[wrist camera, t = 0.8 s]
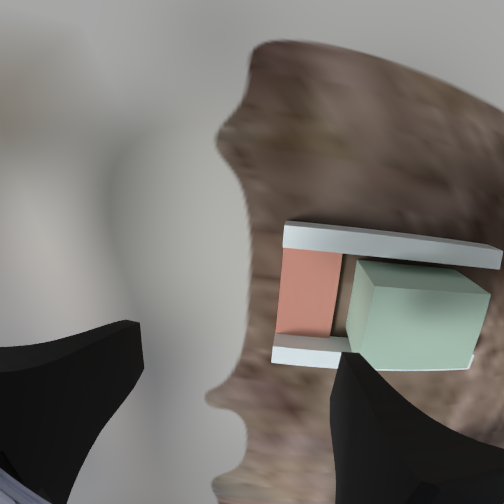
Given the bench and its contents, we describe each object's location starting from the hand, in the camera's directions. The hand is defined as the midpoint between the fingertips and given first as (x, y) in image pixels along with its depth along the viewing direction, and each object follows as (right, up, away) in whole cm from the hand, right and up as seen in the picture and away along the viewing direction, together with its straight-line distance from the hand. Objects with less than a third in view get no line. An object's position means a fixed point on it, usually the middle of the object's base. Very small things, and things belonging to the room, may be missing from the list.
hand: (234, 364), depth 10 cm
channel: (+9, +1, +8) cm, 12 cm away
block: (+10, +1, +8) cm, 13 cm away
